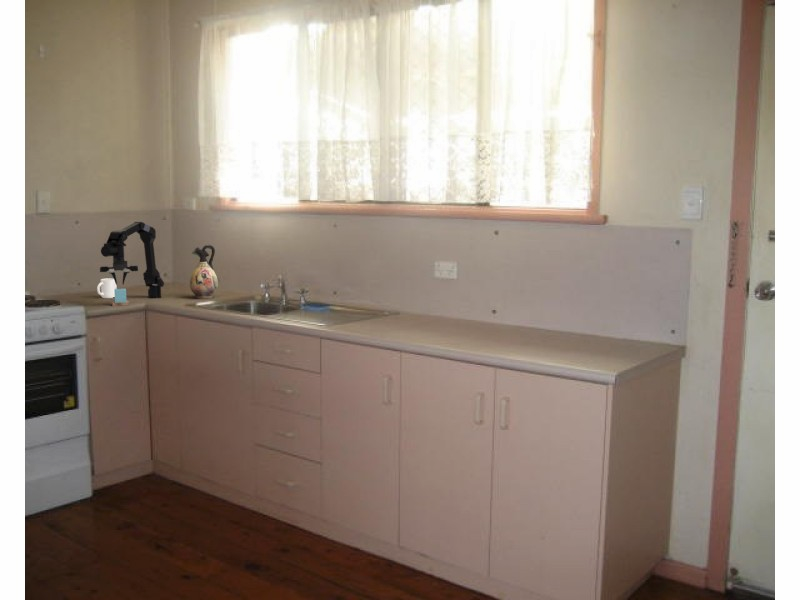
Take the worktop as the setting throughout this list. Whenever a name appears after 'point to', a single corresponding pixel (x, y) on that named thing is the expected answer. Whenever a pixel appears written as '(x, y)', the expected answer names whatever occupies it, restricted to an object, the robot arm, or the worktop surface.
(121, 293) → the light blue block
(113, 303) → the stand
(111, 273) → the robot arm
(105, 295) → the mug
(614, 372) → the worktop surface
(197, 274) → the ceramic jug
